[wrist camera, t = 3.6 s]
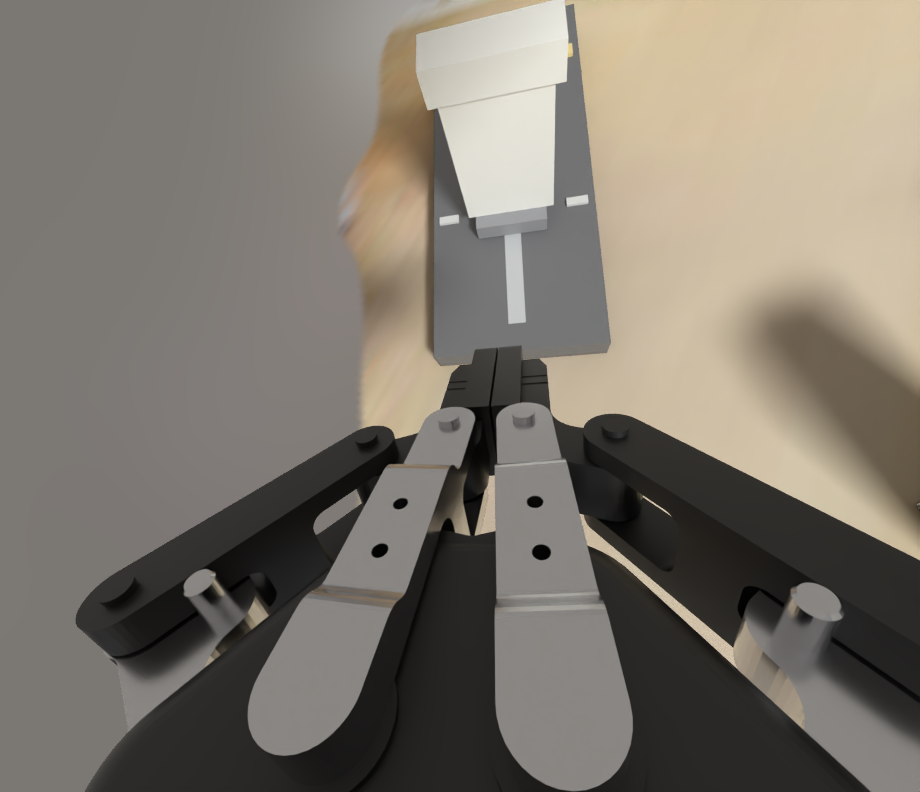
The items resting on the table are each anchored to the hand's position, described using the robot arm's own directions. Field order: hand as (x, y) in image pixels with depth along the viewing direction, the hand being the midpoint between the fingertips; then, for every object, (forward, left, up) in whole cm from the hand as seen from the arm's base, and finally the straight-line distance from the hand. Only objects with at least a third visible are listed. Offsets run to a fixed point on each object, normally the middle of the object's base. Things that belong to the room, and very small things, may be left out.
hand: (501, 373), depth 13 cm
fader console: (0, -21, -16) cm, 26 cm away
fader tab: (0, -17, -14) cm, 22 cm away
